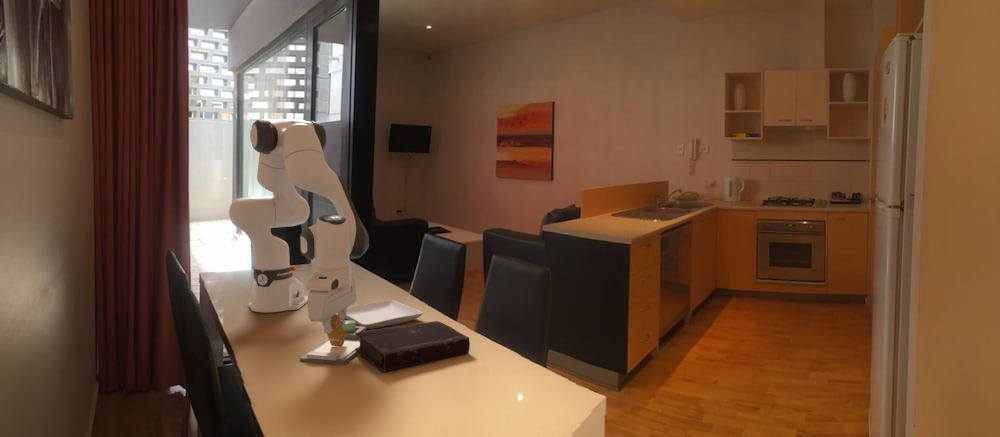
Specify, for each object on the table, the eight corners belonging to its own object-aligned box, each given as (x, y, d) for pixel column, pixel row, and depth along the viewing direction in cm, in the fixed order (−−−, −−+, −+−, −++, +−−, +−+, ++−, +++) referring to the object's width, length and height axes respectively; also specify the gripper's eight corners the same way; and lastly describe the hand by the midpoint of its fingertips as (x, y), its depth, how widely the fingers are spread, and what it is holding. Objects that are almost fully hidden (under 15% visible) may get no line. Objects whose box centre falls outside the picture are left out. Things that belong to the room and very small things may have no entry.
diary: (470, 355, 146) (470, 337, 146) (384, 374, 131) (384, 354, 131) (434, 334, 161) (435, 318, 160) (353, 349, 146) (353, 331, 145)
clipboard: (330, 341, 155) (329, 334, 155) (369, 344, 153) (369, 337, 153) (299, 361, 139) (299, 353, 139) (343, 365, 137) (343, 357, 137)
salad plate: (364, 334, 162) (364, 323, 162) (334, 319, 178) (334, 308, 178) (424, 322, 176) (424, 311, 176) (391, 308, 192) (391, 299, 192)
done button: (344, 329, 162) (344, 319, 162) (358, 330, 161) (358, 320, 161) (337, 334, 158) (337, 324, 157) (351, 335, 157) (351, 325, 157)
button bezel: (341, 331, 164) (341, 325, 164) (366, 333, 163) (366, 326, 163) (328, 339, 156) (328, 333, 156) (354, 341, 155) (354, 335, 155)
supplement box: (343, 347, 148) (334, 324, 141) (331, 345, 148) (321, 323, 141) (347, 337, 150) (339, 314, 143) (335, 335, 150) (326, 312, 144)
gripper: (340, 269, 154) (341, 317, 155) (302, 285, 134) (303, 340, 135) (361, 270, 153) (362, 318, 154) (326, 286, 132) (327, 341, 134)
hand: (334, 328), depth 144 cm, fingers closed on supplement box, 5 cm apart
